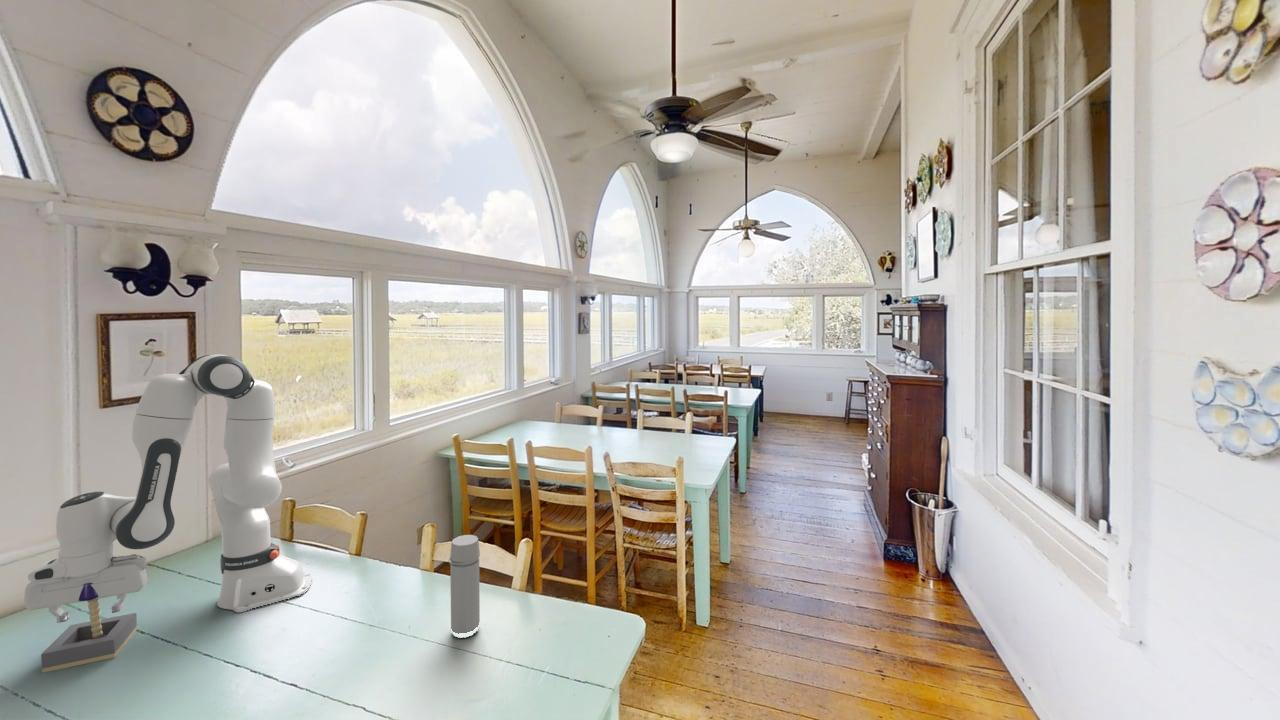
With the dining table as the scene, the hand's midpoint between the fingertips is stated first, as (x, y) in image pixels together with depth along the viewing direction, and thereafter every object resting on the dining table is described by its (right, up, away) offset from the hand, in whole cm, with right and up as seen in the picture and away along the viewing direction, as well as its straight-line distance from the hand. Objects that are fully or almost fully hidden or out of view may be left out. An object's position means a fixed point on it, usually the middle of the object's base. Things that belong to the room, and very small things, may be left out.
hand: (91, 616), depth 120 cm
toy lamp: (0, -8, +1) cm, 8 cm away
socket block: (0, -9, +1) cm, 9 cm away
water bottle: (+87, -10, +11) cm, 88 cm away
